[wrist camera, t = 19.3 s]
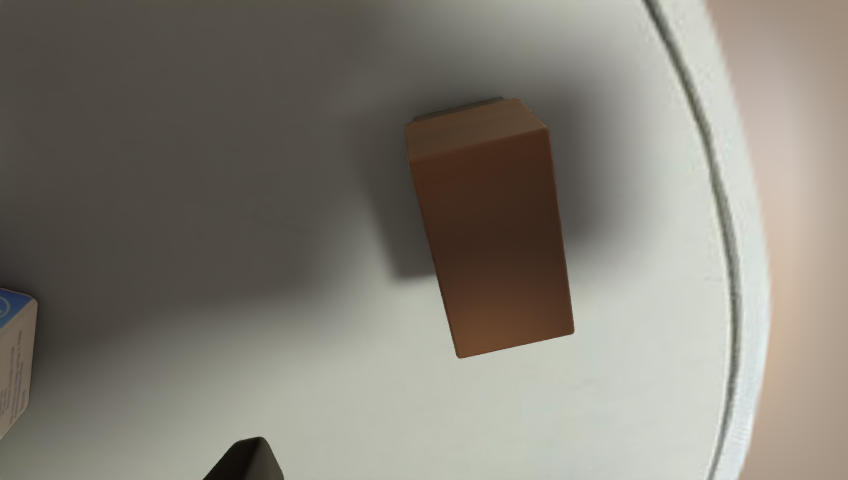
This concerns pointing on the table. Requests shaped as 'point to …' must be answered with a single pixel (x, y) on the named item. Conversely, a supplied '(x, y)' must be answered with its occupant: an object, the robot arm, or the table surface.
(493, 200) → the brown cardboard carton
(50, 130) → the table surface
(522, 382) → the table surface
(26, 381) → the medicine box
